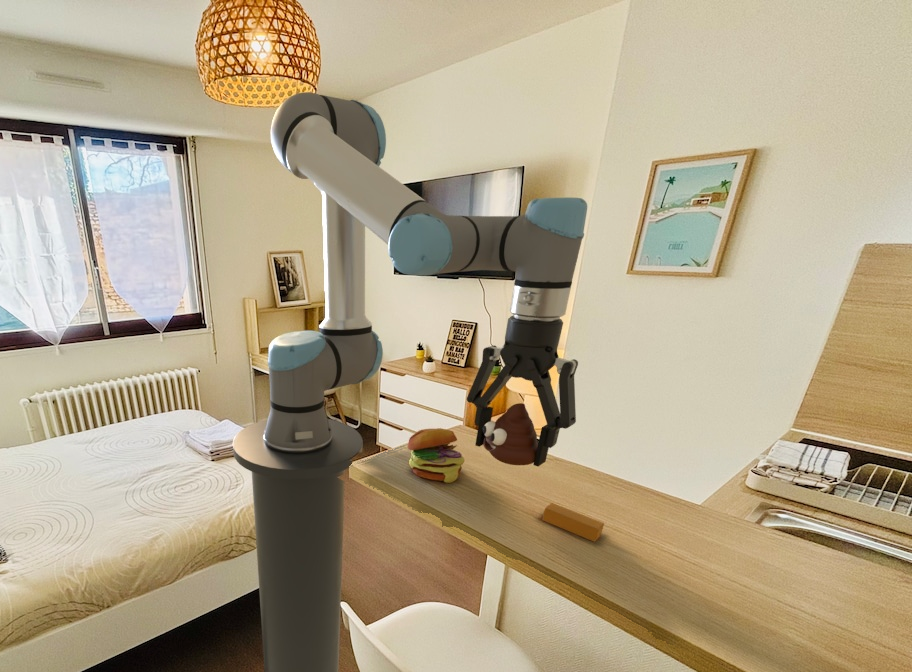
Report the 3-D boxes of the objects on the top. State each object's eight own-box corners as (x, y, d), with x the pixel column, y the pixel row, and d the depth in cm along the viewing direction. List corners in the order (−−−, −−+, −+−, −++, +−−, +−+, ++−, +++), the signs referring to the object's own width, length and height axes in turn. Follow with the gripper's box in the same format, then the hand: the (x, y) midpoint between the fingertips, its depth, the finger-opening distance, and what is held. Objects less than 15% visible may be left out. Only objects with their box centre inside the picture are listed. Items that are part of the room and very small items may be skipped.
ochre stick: (541, 520, 76) (545, 507, 75) (548, 514, 78) (551, 502, 77) (594, 542, 71) (598, 529, 70) (600, 535, 72) (604, 523, 71)
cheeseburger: (431, 490, 85) (428, 436, 82) (398, 477, 94) (394, 429, 92) (474, 478, 88) (472, 426, 86) (438, 467, 98) (436, 420, 96)
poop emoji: (548, 466, 74) (561, 411, 70) (497, 469, 74) (507, 413, 70) (518, 441, 83) (528, 391, 79) (471, 443, 83) (479, 392, 79)
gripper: (455, 310, 74) (439, 439, 83) (609, 330, 59) (568, 484, 69) (480, 305, 78) (462, 428, 88) (629, 323, 64) (588, 468, 73)
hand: (509, 453), depth 78 cm, fingers closed on poop emoji, 9 cm apart
